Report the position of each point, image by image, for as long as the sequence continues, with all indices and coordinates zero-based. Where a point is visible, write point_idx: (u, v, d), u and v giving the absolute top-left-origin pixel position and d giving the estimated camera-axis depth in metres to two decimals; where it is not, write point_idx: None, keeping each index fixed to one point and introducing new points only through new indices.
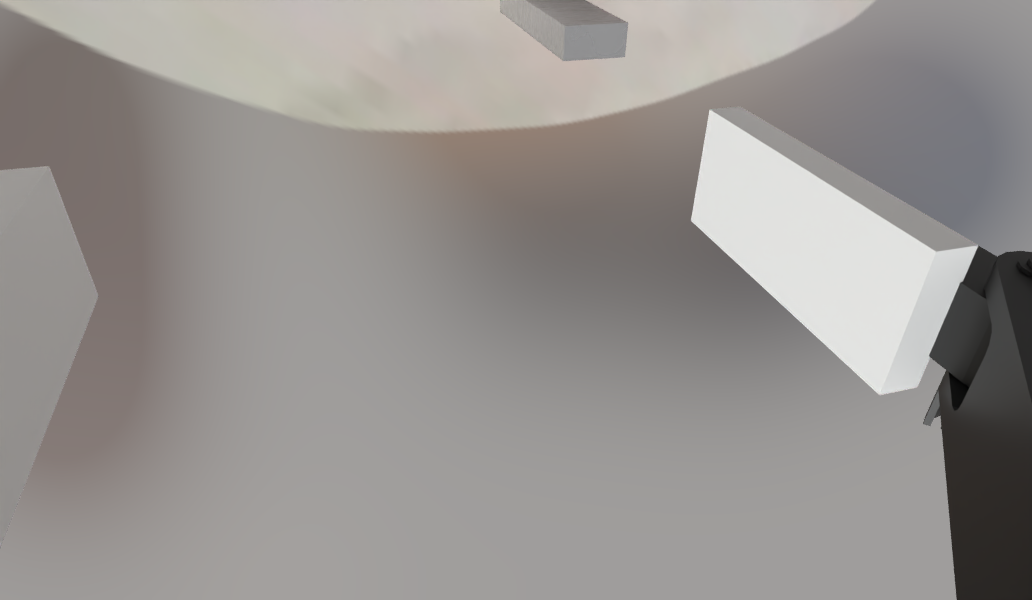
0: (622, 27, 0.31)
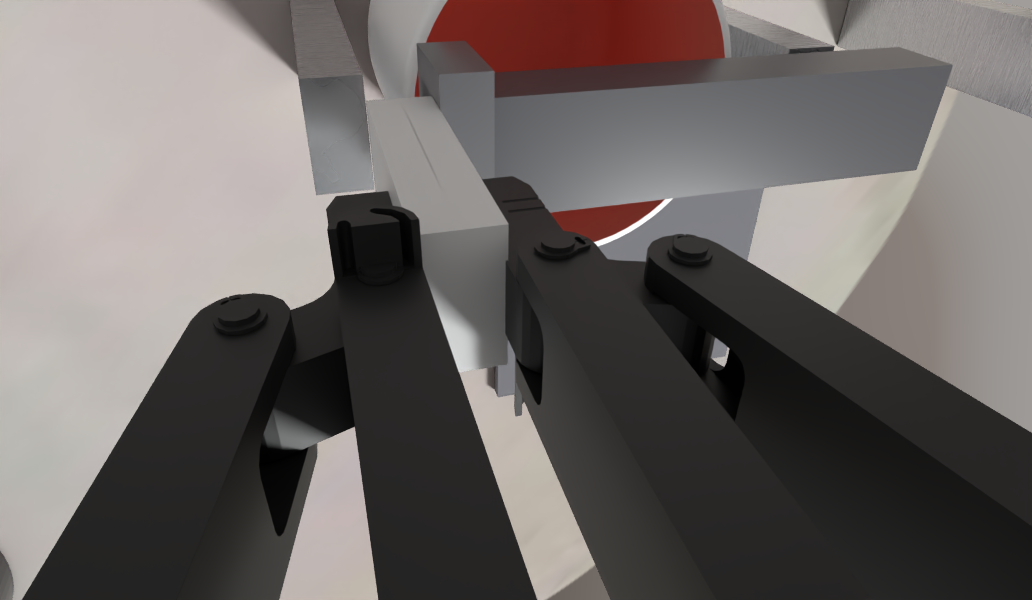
0: None
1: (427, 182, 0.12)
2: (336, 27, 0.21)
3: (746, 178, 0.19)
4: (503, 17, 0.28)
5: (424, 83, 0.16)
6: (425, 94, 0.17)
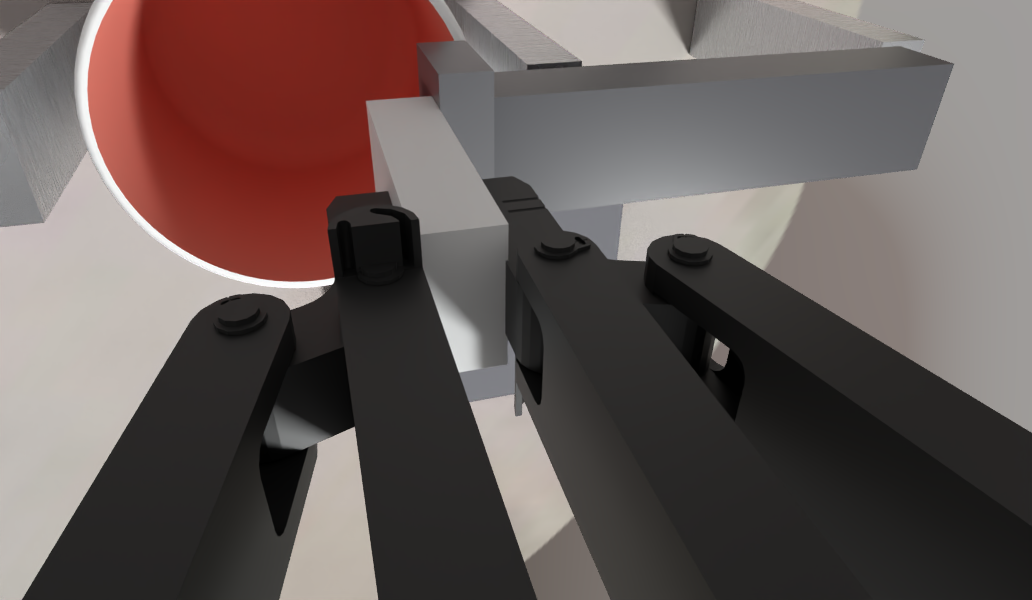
0: None
1: (427, 182, 0.12)
2: (47, 40, 0.19)
3: (746, 177, 0.19)
4: (300, 26, 0.26)
5: (424, 83, 0.16)
6: (425, 94, 0.17)
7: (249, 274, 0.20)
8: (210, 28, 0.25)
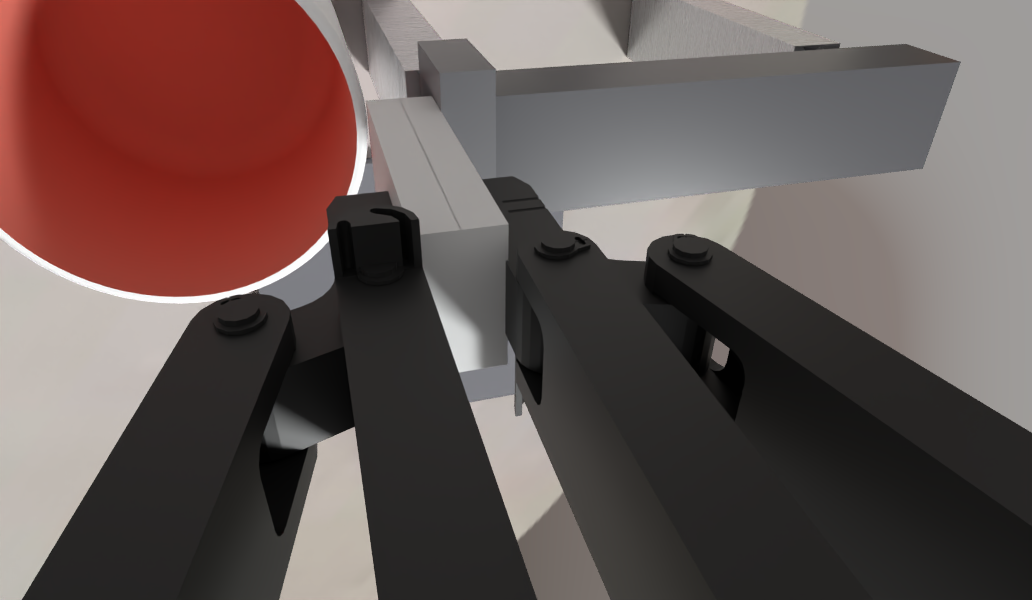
0: None
1: (427, 182, 0.12)
2: None
3: (750, 177, 0.18)
4: (209, 28, 0.25)
5: (425, 81, 0.16)
6: (426, 93, 0.16)
7: (129, 289, 0.19)
8: (114, 31, 0.24)
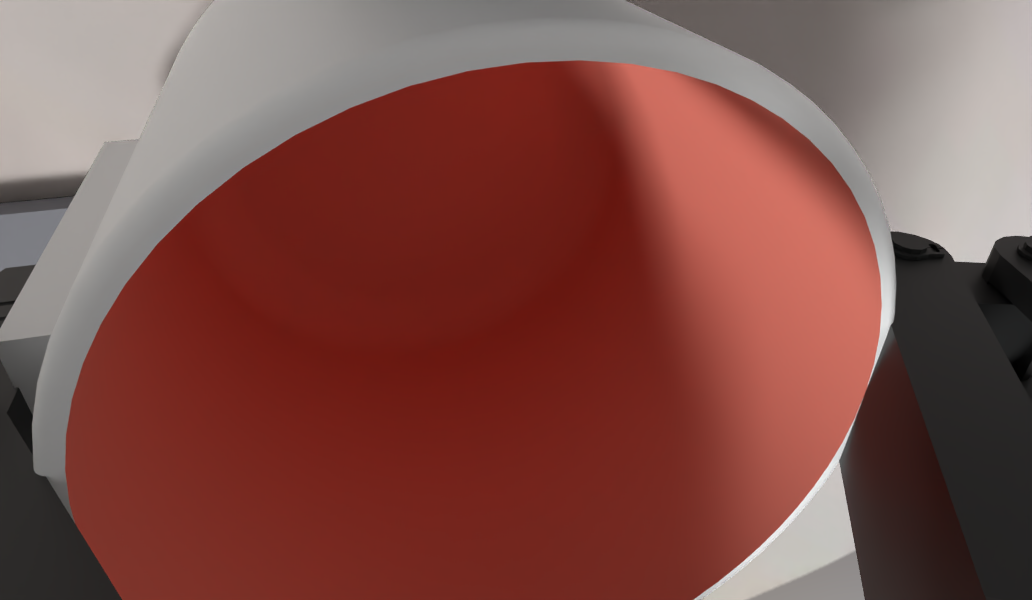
0: None
1: (81, 259, 0.09)
2: None
3: None
4: (428, 178, 0.16)
5: None
6: None
7: (74, 398, 0.06)
8: None
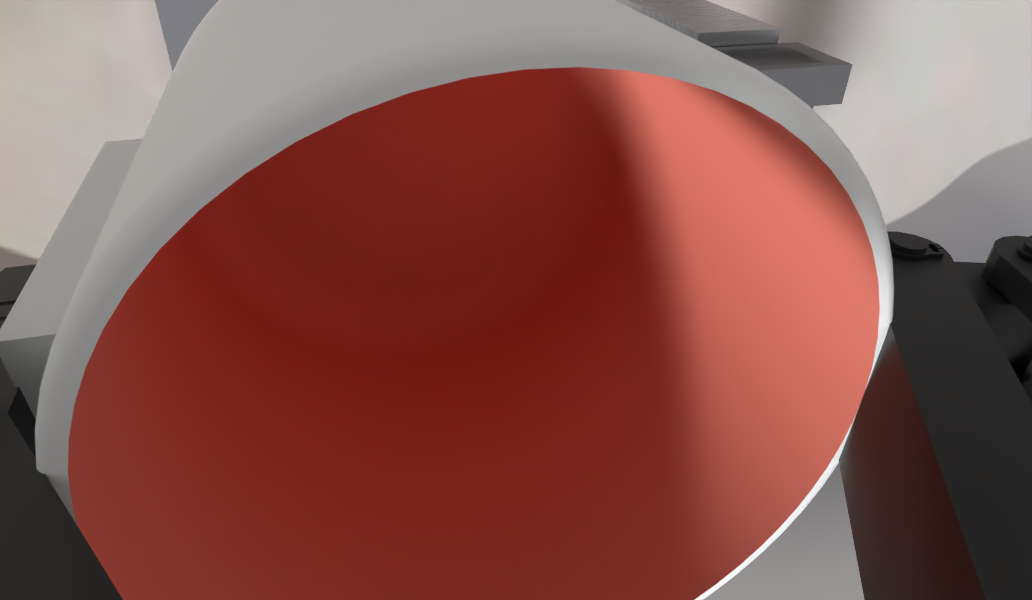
0: None
1: (81, 258, 0.09)
2: None
3: None
4: (428, 180, 0.16)
5: (795, 50, 0.22)
6: (789, 51, 0.22)
7: (76, 402, 0.06)
8: None
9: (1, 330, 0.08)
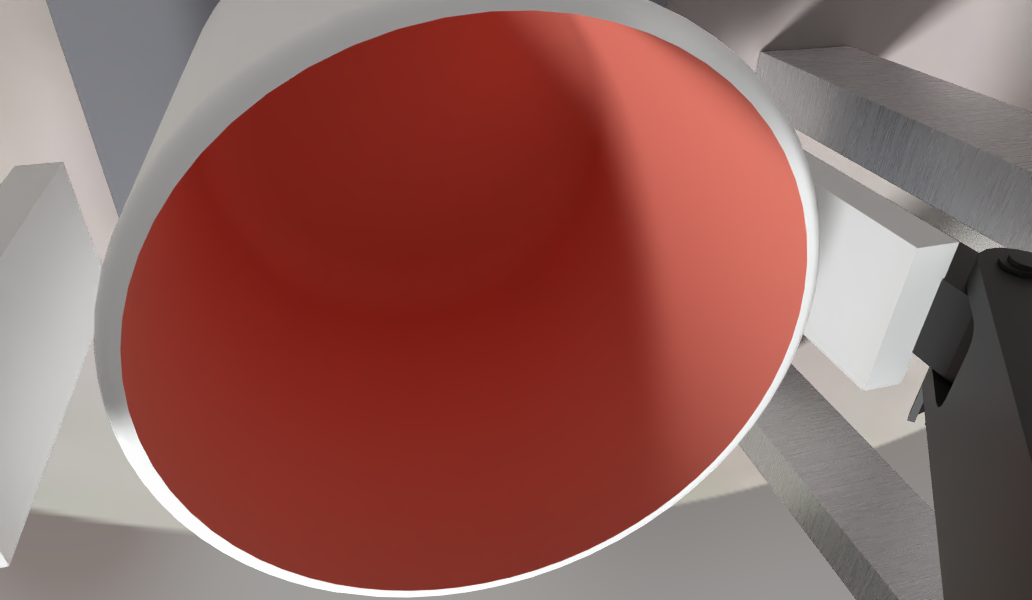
0: None
1: None
2: None
3: None
4: (425, 151, 0.18)
5: None
6: None
7: (128, 288, 0.08)
8: (420, 25, 0.16)
9: None
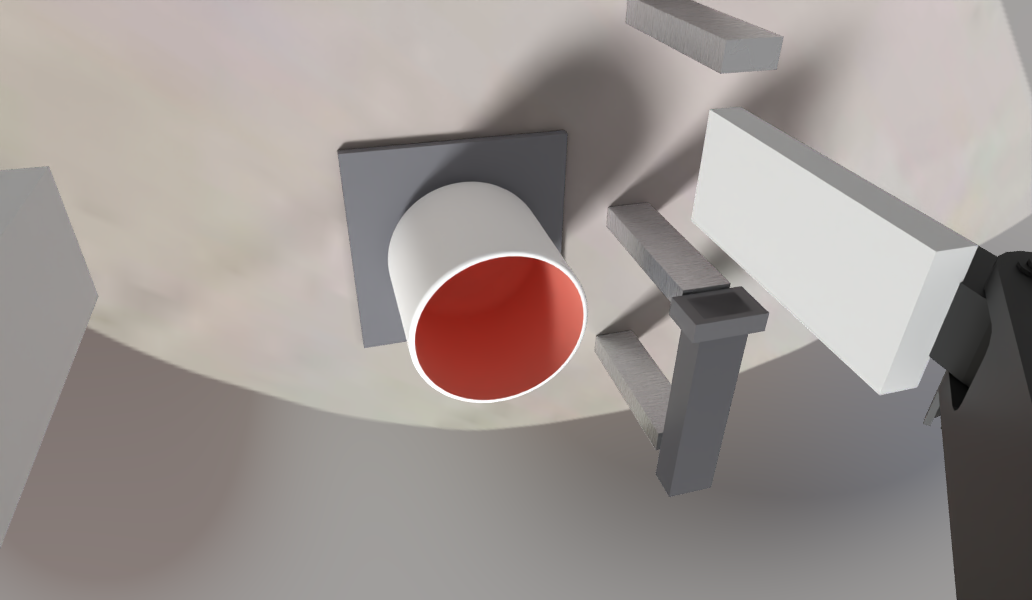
0: None
1: None
2: None
3: (687, 431, 0.42)
4: None
5: (738, 296, 0.39)
6: (735, 297, 0.39)
7: (420, 313, 0.36)
8: None
9: None
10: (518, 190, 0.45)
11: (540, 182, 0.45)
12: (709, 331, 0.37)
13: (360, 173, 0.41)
